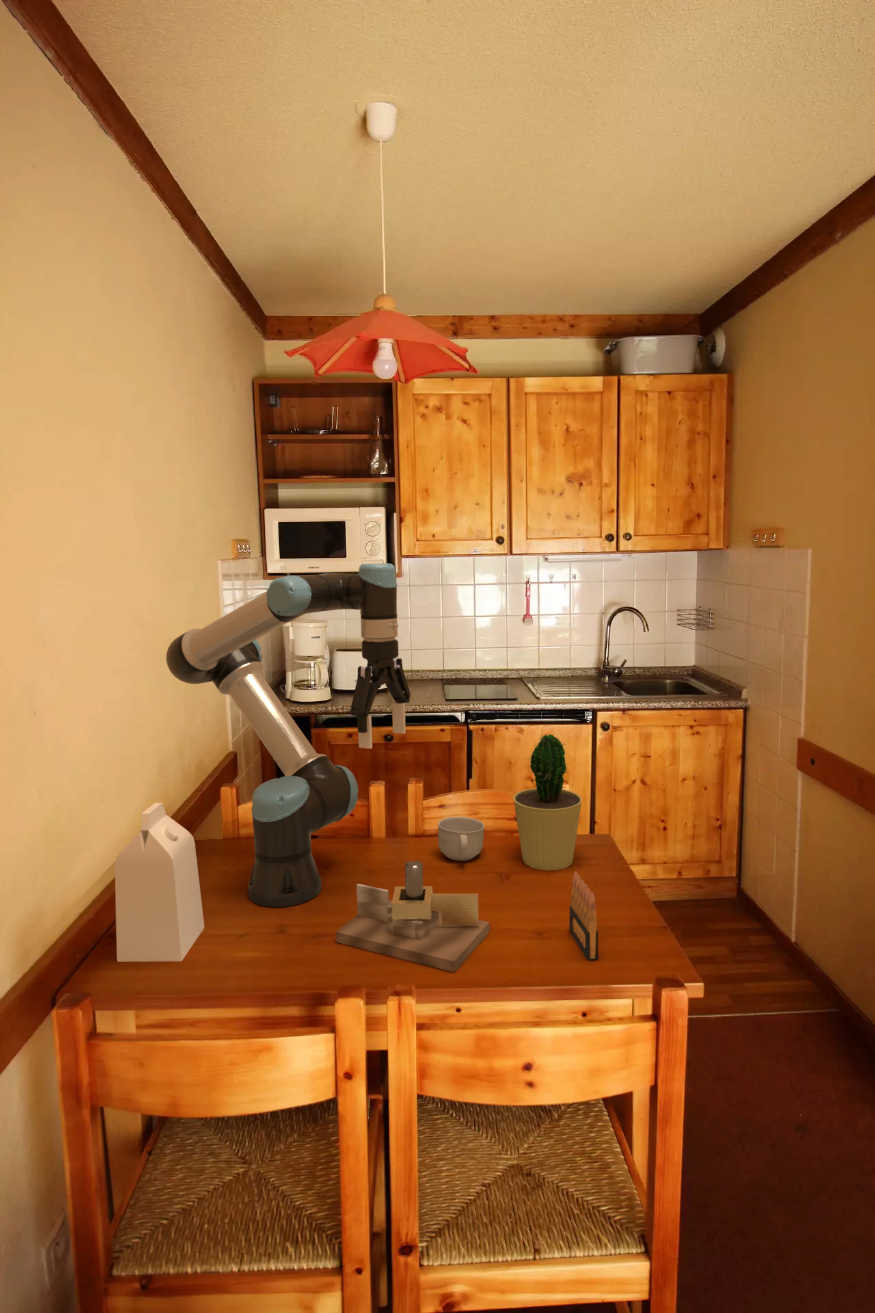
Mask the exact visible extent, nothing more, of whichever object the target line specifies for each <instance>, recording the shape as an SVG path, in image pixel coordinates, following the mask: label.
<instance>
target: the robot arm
mask: <svg viewBox="0 0 875 1313" xmlns="http://www.w3.org/2000/svg"><path fill="white" fill-rule="evenodd" d="M396 573H397V572H396V567H395V565H394V564H392V563H386V562H385V563H384V562H383V563H363V564H360V565H359V568H358V573H338V572H336V573H335V572H327V573H325V572H324V573H321V574H308V575H307V574H306V575H305V574H303V575H294V574H293V575H285V576H280V577H277V578H275V579H273V580H272V581H270V583H269V587H268V588H267V590H266V592H263V593H262V594H260V595H259V596H256V597H255V598H253V599H252V600H250V601H248V602H245V603H244V604H243V605H240V606H239V607H237V608H235V609H234V610H232V611H230V612H228V613H226V614H225V615H224V616H222V617H219V619H216V620H215V621H213V622H211V623H210V624H207V625H206V626H204V627H203V628H191V629H189V630H187V631H186V632H185V633H182V634H180V635H179V636H177V637H176V638H174V639H173V641H171V643H170V644H169V646H168V647H167V651H166V655H165V656H166V657H165V658H166V665H167V668H168V670H169V671H170V673H171V674H172V676H174V678H176V679H177V680H179V681H180V682H183V683H186V684H189V685H191V684H192V685H200V684H205V683H210V682H212V683H213V684H214V686H215V687H216V689H217V690H218V691H219V693H220V694H222V695H226V696H230V697H231V698H232V700H233V701H234V703H235V705H236V706H237V708H238V709H239V710H240V711H241V713H242V714H243V717H245V719H246V720H247V721H248V723H249V726H251V728H252V729H253V731H254V733H256V735H257V736H258V738H259V740H260V741H261V742H262V744H263V745H264V747H265V748H266V749H267V751H268V753H269V754H270V755H271V757H272V758H273V760H274V761H275V763H276V765H277V766H278V767H279V768H280V770H281V772H282V773H283V775H284V776H281V777H280V778H277V777H275V778H272V779H269V780H267V781H265V782H263V783H262V784H261V783H260V785H258V786H257V787H256V788H255V790H254V791H253V794H252V799H251V800H252V801H251V802H252V803H251V804H252V806H251V815H252V816H251V818H252V829H253V842H254V843H253V844H254V857H255V858H254V863H253V866H252V869H251V874H250V878H249V881H248V885H247V891H248V898H249V899H250V901H251V902H252V903H254V904H257V905H260V906H262V907H268V908H282V907H285V908H286V907H291V906H296V905H300V904H303V903H305V902H308V901H310V900H312V899H314V898H315V897H317V896H318V895H319V894H320V892H321V890H322V876H321V874H320V872H319V871H318V868H317V865H316V862H315V859H314V856H313V853H312V840H311V839H312V834H313V833H314V832H317V831H320V830H321V829H324V828H325V827H327V826H329V825H331V824H334V823H337V822H340V821H342V819H343V818H345V817H347V816H348V815H350V814H351V813H352V812H353V811H354V809H355V808H356V805H357V804H358V799H359V798H358V797H359V796H358V794H359V787H358V781H357V779H356V777H355V775H354V774H353V772H352V771H351V770H350V769H349V768H347V767H346V766H342V765H338V764H335V765H334V764H333V762H332V761H331V759H330V757H328V756H327V755H326V754H322V753H317V751H316V750H315V749H314V747H313V745H312V744H311V743H310V741H309V740H308V738H307V737H306V736H305V734H304V733H303V731H302V730H301V729H300V728H299V726H298V725H297V723H296V722H295V720H294V719H293V717H292V716H291V714H290V713H289V712H288V710H287V709H286V708H285V706H284V704H283V703H282V702H281V701H280V699H279V698H278V696H277V695H276V693H275V692H274V690H273V689H272V688H271V686H270V685H269V683H268V682H267V681H266V679H265V678H264V677H263V675H262V673H263V668H264V666H263V664H262V660H263V653H261V651H262V647H261V645H260V642H259V641H258V639H260V638H262V637H264V636H265V635H268V634H270V633H272V632H273V631H274V630H277V629H278V628H281V627H282V626H284V625H286V624H288V623H291V622H292V621H293V620H295V619H298V618H300V617H301V616H303V615H306V614H311V613H321V612H327V611H330V612H331V611H336V610H337V611H338V610H357V611H359V610H360V635H361V636H360V637H361V638H362V639H363V640H362V642H361V656H362V658H363V659H364V660H366V662H367V664H366V666H362V665H358V667H357V678H356V684H355V688H354V692H353V697H352V702H351V705H350V709H349V714H350V716H352V717H356V718H357V719H356V720H357V731H358V732H357V733H358V748H361V749H370V750H371V749H372V748H373V732H372V730H373V728H372V716H371V715H369V714H370V712H371V709H372V706H373V705H374V700H375V698H376V695H377V692H378V691H379V689H380V688H381V687H382V686H383V685H385V686H386V688H387V690H388V692H389V693H390V695H391V698H392V699H393V701H394V702H391V708H392V710H391V711H392V733H394V734H403V735H404V734H406V731H407V730H406V704H405V703H408V704H409V703H410V700H411V699H410V698H411V692H410V687H409V685H408V682H407V678H406V675H405V671H404V668H403V659H402V658H401V657H400V658H399V641H398V639H396V638H397V637H398V635H399V633H398V631H399V629H398V627H399V624H398V609H397V608H398V603H397V600H398V599H397V598H398V592H397V591H398V582H397V575H396Z"/></svg>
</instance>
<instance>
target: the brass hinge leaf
mask: <svg viewBox="0 0 875 1313" xmlns="http://www.w3.org/2000/svg"><path fill="white" fill-rule="evenodd" d="M391 901H392V919H431V915H432V911H441V912H442V925H479V924H478V920H479V893H433V885H431V886H429V885H423V900H405V885H404V886H402V885H400V886H397V885H396V886H394V891H393V895H392V900H391Z"/></svg>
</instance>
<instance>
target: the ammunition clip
mask: <svg viewBox="0 0 875 1313" xmlns="http://www.w3.org/2000/svg"><path fill="white" fill-rule="evenodd" d="M570 895H571V896H570V903H571V904H570V905H569V923H568V924H569V926H568V928H569V930H568V931H569V933H570V934H571V937H573V939H574V940H575V942H576V945H577V946H578V947H579V949H580V950H581V952H582V953H583V955H584V957H585V958H586V960H587V961H594V960H599V931H598V928H597V919H598V918H597V912H596V911H597V910H596V899H595V898H596V897H595V894H594V892H592V891H591V889H590V887H588V885H587V884H586V883H585V882H584V879H581V876H580V874H578V872H577V871H576V870H575V871H574V873H573V875H572V888H571V893H570Z"/></svg>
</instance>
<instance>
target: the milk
mask: <svg viewBox="0 0 875 1313" xmlns="http://www.w3.org/2000/svg"><path fill="white" fill-rule="evenodd" d="M140 819H141V821H140V831H139V832H138V833H137V834H136V836H134V837H133V838H132V840H130V842H129V843H128V844H127V845H126V846H125V847H124V848H123V849H122V850H121V851H120V852H119V853H118V855H117V857H116V858H115V861H114V862H115V863H114V885H115V886H114V887H115V890H114V891H115V893H114V894H115V928H116V931H115V933H116V934H115V935H116V960H117V961H116V962H123V963H124V962H126V963H127V962H182V961H183V959H185V957H186V955H187V954H188V952H189V951H190V949H191V948H192V947H193V945H194V944H195V943H196V941H197V939H198V938H199V937H200V935H201V933H202V932H203V931H204V929H205V922H204V913H203V904H202V895H201V886H200V879H199V878H200V877H199V869H198V859H197V853H196V852H197V851H196V850H197V849H196V844H195V839H194V838H195V837H193V835H192V833H190V832H189V831H188V830H187V829H186V828H185V827H184V826H182V825H181V824H179V823H178V822H177V821H176V820H174V819H173V818H172V817H170V816H169V815H167V813H166V810H165V807H164V803H163V802H154V803H153V804H152V805H151V806H149V807H148V808H147V809H146V810H144V811H143V812H142V813H141V818H140Z"/></svg>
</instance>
